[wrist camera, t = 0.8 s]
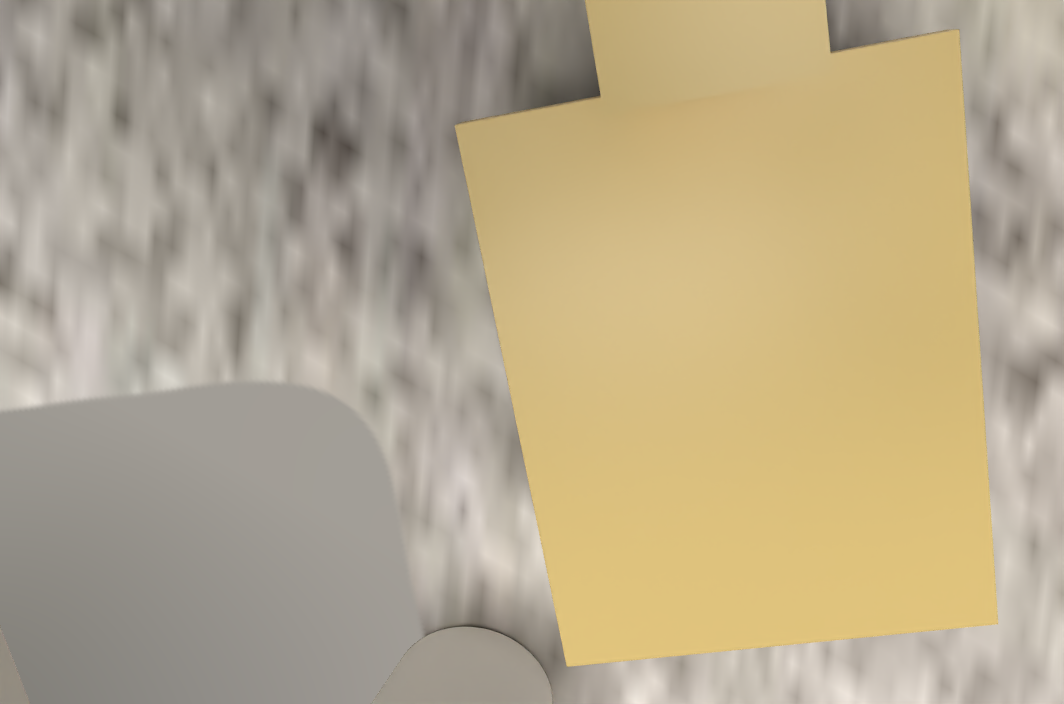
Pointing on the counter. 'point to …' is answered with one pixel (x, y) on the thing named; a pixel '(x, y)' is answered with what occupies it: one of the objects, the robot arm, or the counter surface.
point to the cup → (466, 671)
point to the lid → (743, 332)
